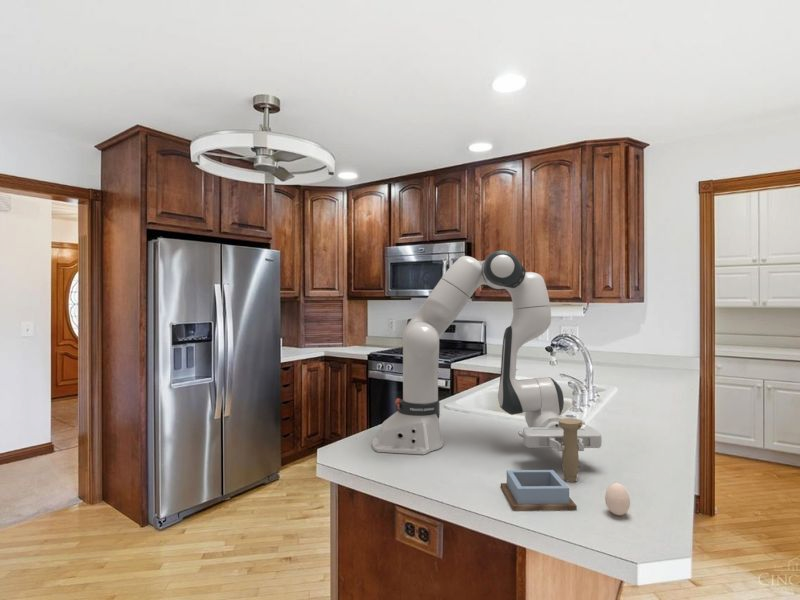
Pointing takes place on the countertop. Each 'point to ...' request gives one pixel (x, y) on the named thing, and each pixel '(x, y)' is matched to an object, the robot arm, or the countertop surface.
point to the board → (534, 506)
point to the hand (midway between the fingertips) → (571, 448)
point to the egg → (617, 499)
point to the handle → (570, 447)
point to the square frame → (537, 487)
